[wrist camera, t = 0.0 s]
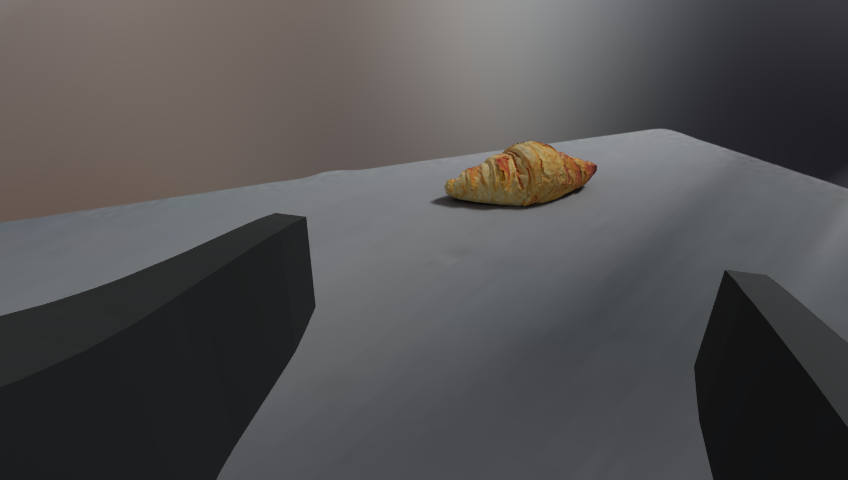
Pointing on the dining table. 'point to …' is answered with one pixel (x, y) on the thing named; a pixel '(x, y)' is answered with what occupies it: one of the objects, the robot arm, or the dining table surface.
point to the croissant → (522, 176)
